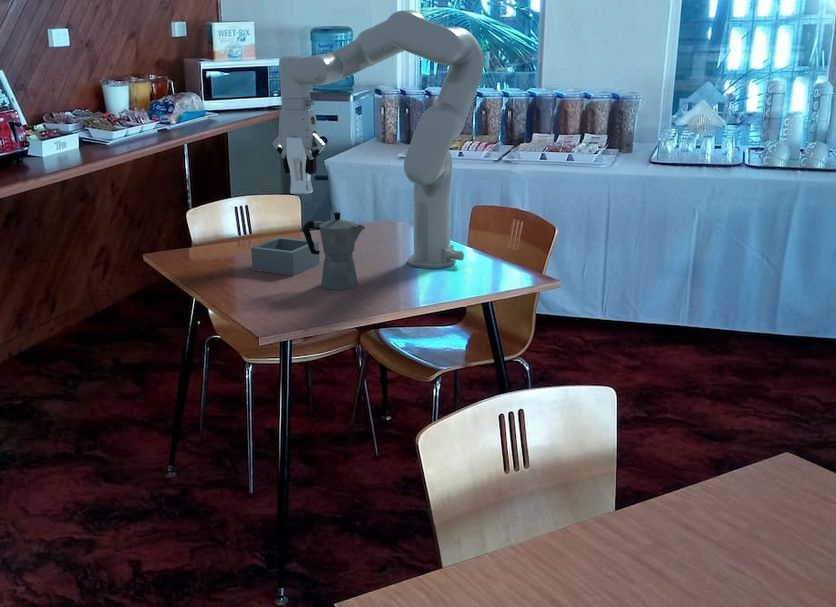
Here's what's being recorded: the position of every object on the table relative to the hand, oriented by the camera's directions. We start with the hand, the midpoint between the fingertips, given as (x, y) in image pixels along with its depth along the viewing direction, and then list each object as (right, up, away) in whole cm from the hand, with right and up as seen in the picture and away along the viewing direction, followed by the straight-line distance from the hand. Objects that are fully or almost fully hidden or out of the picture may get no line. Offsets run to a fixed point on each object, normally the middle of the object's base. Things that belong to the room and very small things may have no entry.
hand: (300, 172), depth 244 cm
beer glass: (0, -5, +2) cm, 5 cm away
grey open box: (-3, -25, -5) cm, 26 cm away
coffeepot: (+11, -30, -21) cm, 38 cm away
